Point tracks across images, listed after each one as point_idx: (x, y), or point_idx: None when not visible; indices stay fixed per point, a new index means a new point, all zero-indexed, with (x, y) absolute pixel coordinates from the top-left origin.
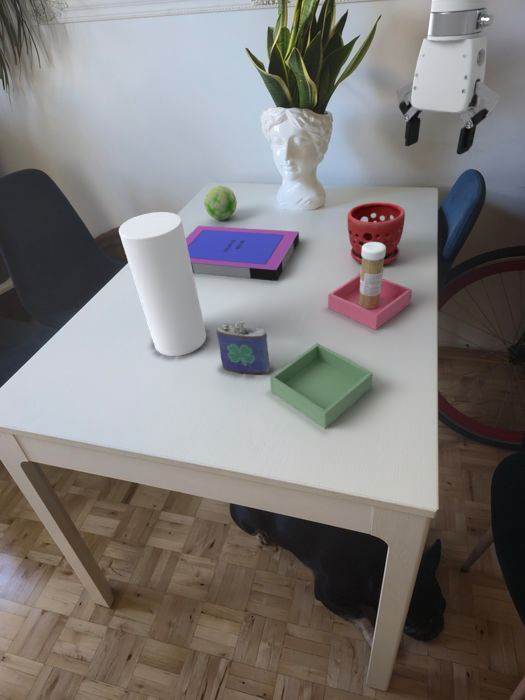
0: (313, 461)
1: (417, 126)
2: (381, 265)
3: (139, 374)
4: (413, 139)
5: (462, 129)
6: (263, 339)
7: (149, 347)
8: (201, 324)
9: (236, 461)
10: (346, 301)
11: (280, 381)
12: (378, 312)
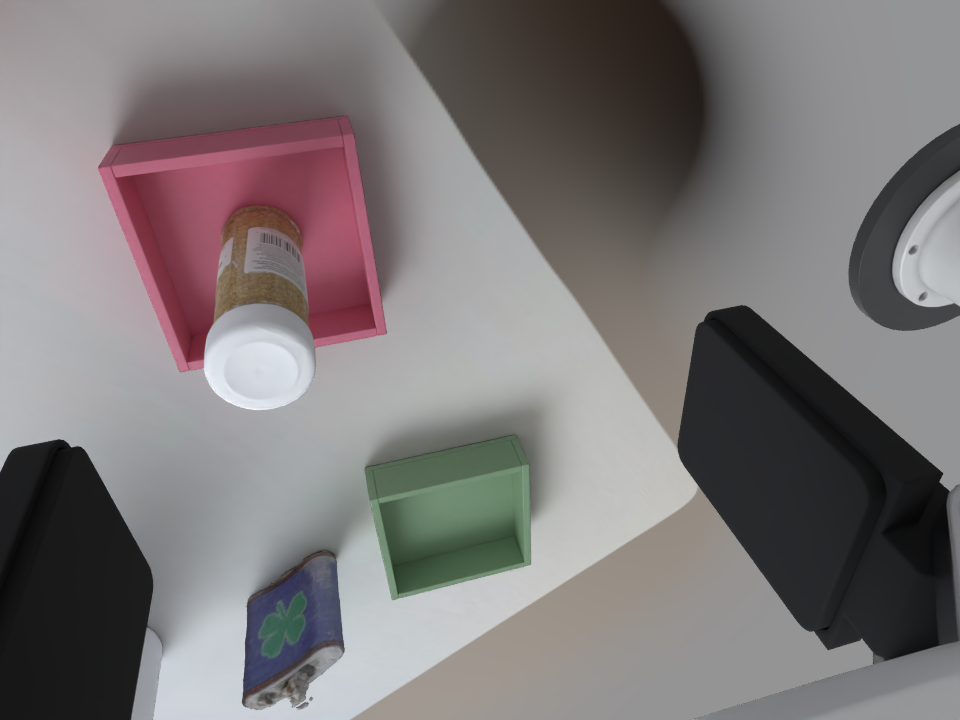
0: (547, 566)
1: (47, 661)
2: (307, 321)
3: (172, 713)
4: (115, 563)
5: (830, 637)
6: (343, 641)
7: None
8: None
9: (468, 635)
10: None
11: (415, 590)
12: (378, 321)
